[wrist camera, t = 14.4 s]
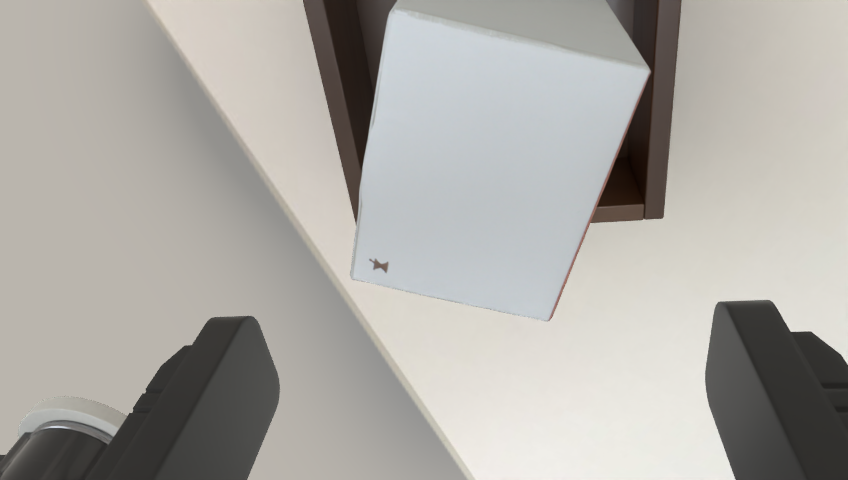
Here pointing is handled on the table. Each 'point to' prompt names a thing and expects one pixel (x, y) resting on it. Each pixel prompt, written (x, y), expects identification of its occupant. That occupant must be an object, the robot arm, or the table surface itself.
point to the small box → (492, 147)
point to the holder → (642, 146)
